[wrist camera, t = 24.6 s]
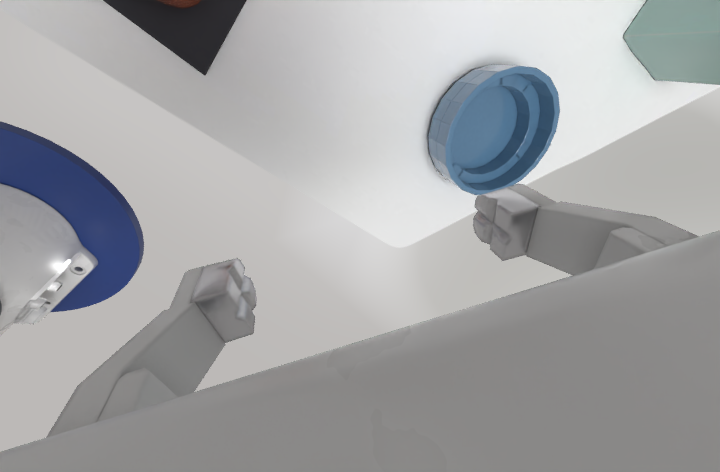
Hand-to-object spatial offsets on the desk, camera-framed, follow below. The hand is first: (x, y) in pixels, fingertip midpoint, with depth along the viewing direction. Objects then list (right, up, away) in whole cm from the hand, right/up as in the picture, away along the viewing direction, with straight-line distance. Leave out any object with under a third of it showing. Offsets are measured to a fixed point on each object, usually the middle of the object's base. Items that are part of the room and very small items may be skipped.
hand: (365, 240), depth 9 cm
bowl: (+17, +15, +30) cm, 38 cm away
